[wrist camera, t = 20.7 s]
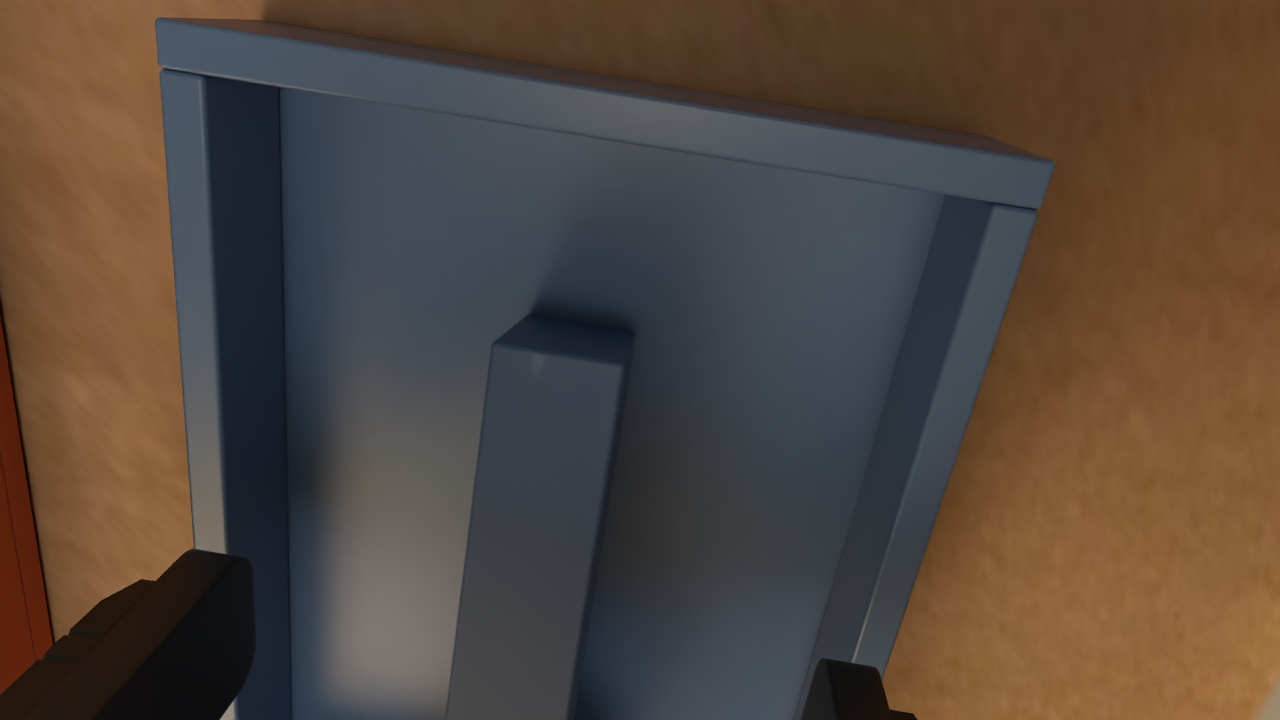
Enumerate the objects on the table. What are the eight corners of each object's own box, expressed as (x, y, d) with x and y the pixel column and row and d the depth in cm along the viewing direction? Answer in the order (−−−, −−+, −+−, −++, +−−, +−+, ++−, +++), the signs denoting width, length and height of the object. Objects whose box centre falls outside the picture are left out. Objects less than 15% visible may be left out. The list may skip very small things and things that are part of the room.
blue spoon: (460, 302, 13) (408, 327, 11) (703, 342, 13) (709, 376, 11) (392, 892, 16) (336, 1028, 13) (598, 929, 16) (583, 1073, 13)
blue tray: (256, 19, 12) (152, 16, 10) (992, 137, 12) (1058, 162, 10) (277, 755, 18) (215, 860, 16) (778, 842, 18) (789, 962, 16)
